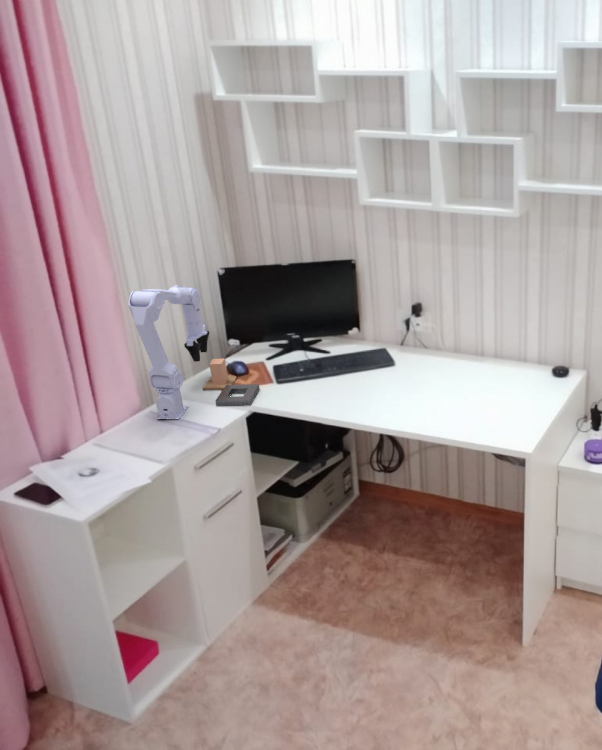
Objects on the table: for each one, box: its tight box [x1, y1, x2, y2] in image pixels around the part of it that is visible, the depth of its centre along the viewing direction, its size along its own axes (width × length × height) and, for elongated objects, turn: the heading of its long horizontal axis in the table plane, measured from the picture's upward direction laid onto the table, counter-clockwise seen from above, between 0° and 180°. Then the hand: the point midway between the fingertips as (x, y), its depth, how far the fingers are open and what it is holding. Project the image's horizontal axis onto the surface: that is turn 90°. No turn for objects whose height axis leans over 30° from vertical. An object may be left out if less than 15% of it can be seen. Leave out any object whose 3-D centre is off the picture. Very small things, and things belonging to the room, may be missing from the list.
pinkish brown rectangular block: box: [209, 357, 229, 385], centre depth 309 cm, size 4×4×8 cm
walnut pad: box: [202, 375, 238, 391], centre depth 311 cm, size 10×10×1 cm
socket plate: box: [215, 383, 261, 407], centre depth 298 cm, size 12×12×2 cm
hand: (200, 356), depth 309 cm, fingers open, 7 cm apart
